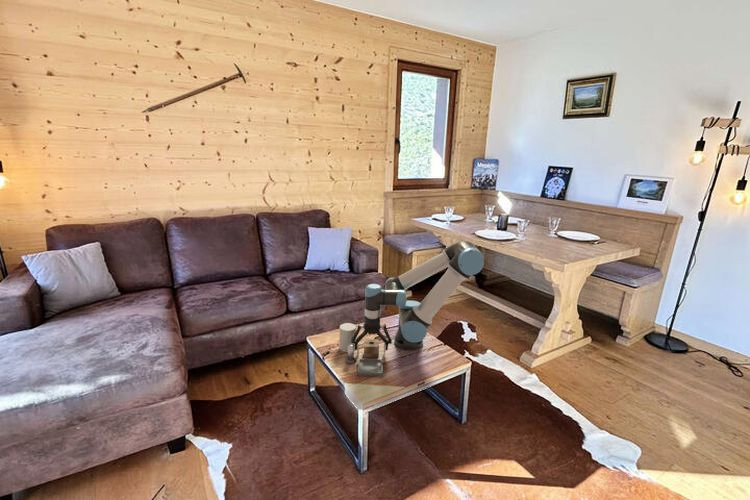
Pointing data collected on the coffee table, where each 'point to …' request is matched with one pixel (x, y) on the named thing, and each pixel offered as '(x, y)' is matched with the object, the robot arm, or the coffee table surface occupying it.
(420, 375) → the coffee table surface
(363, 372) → the tray
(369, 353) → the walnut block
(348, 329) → the cup
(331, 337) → the coffee table surface
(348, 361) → the post
